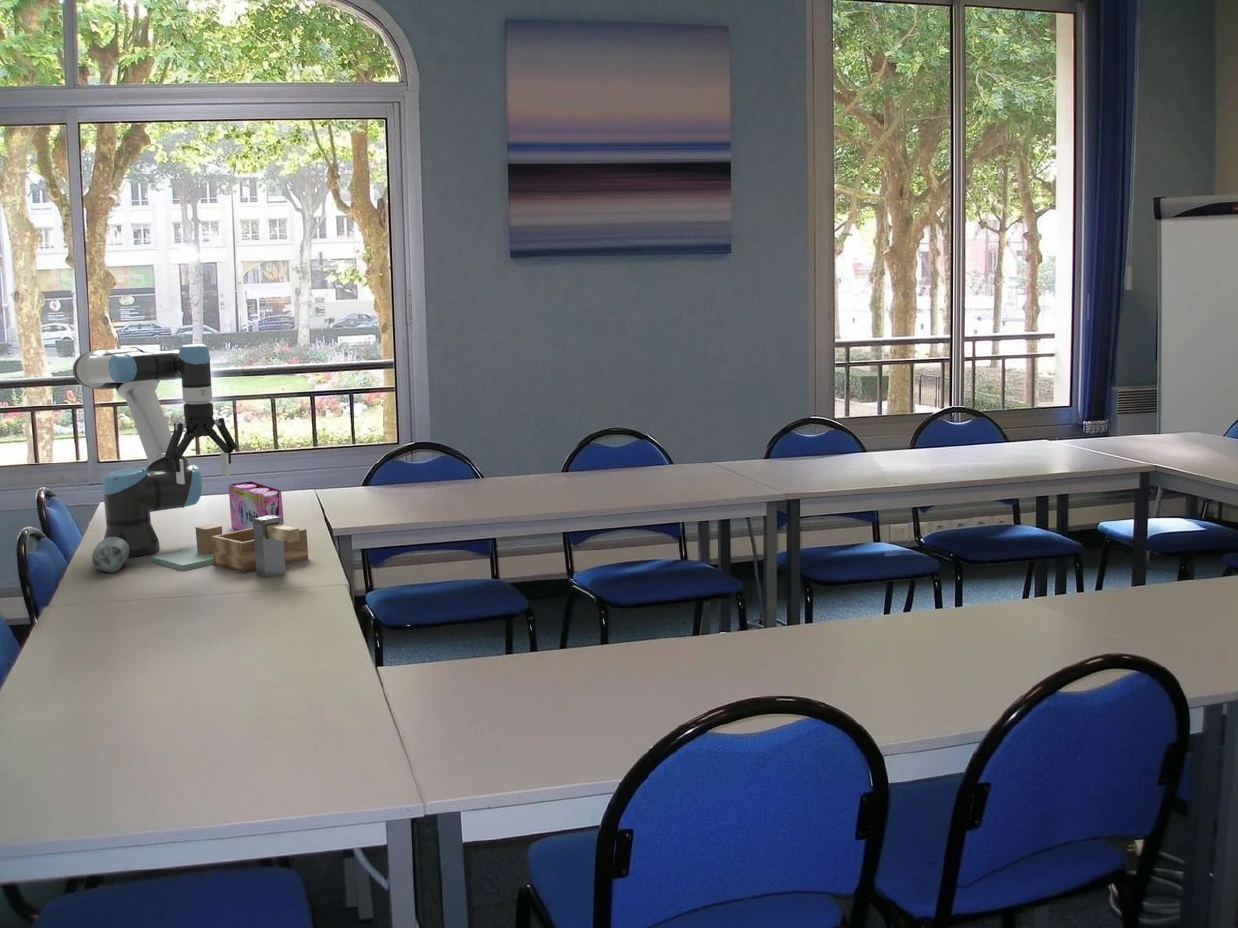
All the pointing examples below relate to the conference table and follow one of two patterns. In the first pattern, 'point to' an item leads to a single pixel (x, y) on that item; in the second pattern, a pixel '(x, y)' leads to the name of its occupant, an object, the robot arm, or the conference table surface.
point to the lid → (193, 551)
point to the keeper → (268, 548)
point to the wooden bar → (282, 532)
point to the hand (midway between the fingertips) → (203, 479)
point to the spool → (110, 554)
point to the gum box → (253, 503)
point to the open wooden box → (251, 550)
